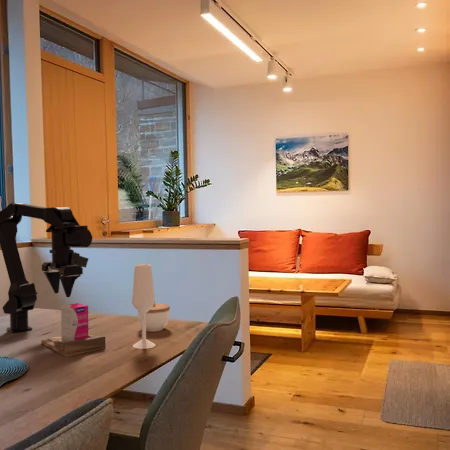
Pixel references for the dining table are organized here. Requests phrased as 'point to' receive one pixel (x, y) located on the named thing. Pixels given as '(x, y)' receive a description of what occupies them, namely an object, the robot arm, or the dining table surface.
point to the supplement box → (74, 322)
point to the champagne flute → (143, 299)
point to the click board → (75, 345)
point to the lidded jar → (156, 317)
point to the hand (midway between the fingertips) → (62, 295)
